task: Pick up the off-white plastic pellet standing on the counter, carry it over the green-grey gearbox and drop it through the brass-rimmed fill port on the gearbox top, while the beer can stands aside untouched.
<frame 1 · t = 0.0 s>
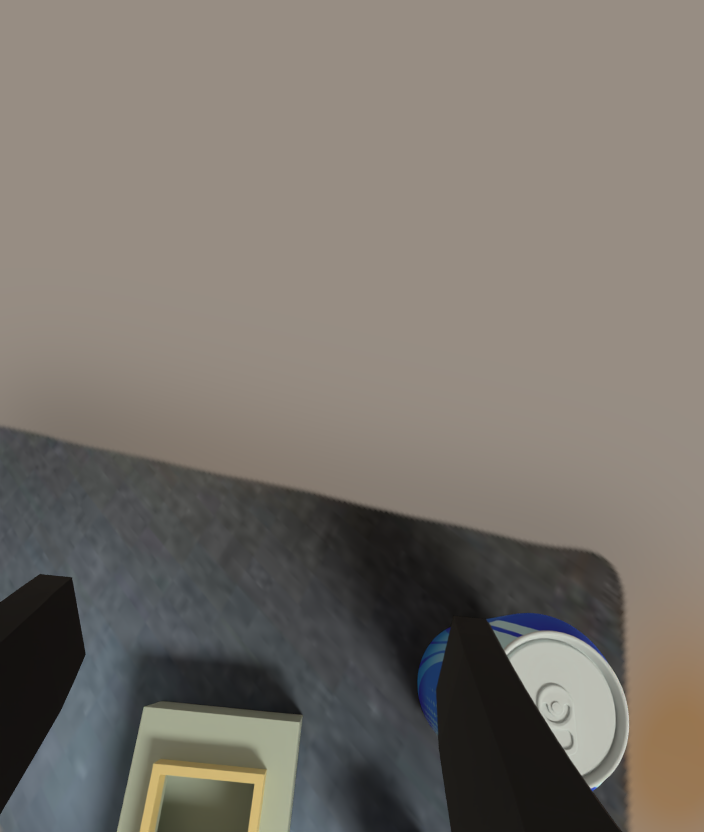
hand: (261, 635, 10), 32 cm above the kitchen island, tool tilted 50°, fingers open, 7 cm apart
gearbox: (215, 810, 36), on the kitchen island
beer can: (471, 684, 40), on the kitchen island
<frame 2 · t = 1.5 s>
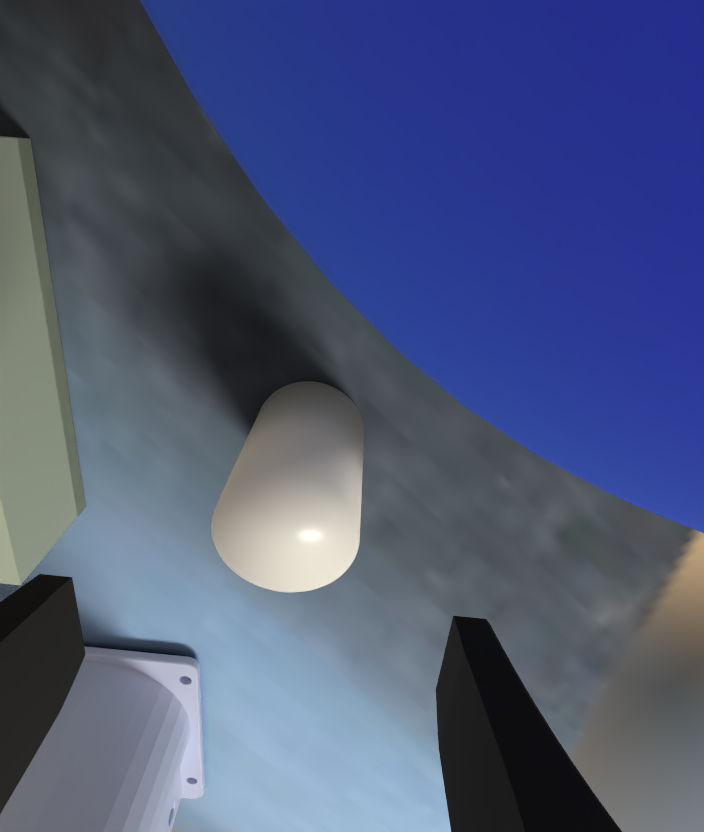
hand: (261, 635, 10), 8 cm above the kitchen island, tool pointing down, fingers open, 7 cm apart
pellet: (310, 431, 18), on the kitchen island
beer can: (497, 52, 13), on the kitchen island
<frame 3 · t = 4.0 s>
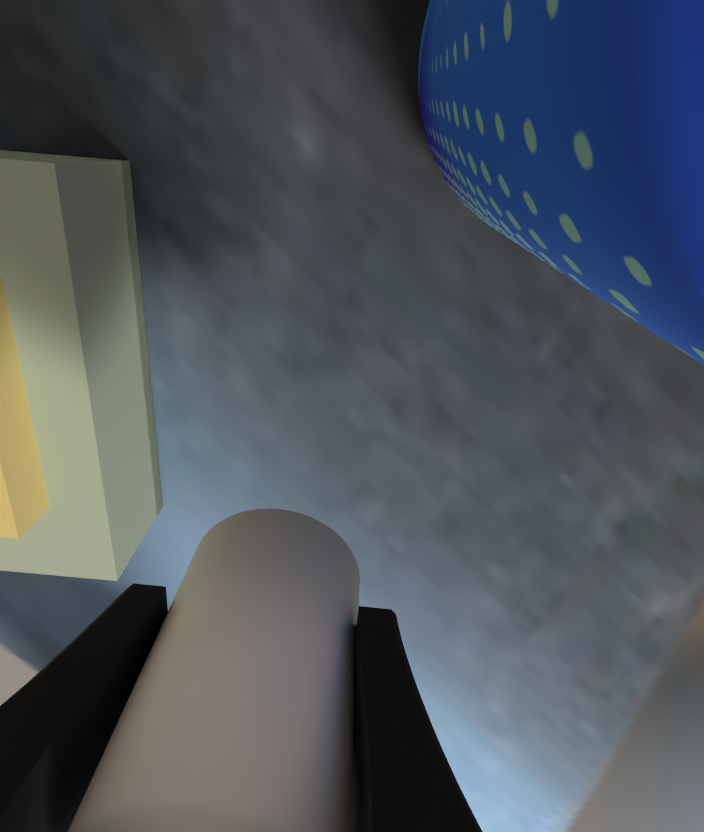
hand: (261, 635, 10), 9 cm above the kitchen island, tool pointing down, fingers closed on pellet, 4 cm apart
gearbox: (0, 346, 18), on the kitchen island
pellet: (276, 577, 12), point 8 cm above the kitchen island, touching gripper
beer can: (574, 73, 14), on the kitchen island
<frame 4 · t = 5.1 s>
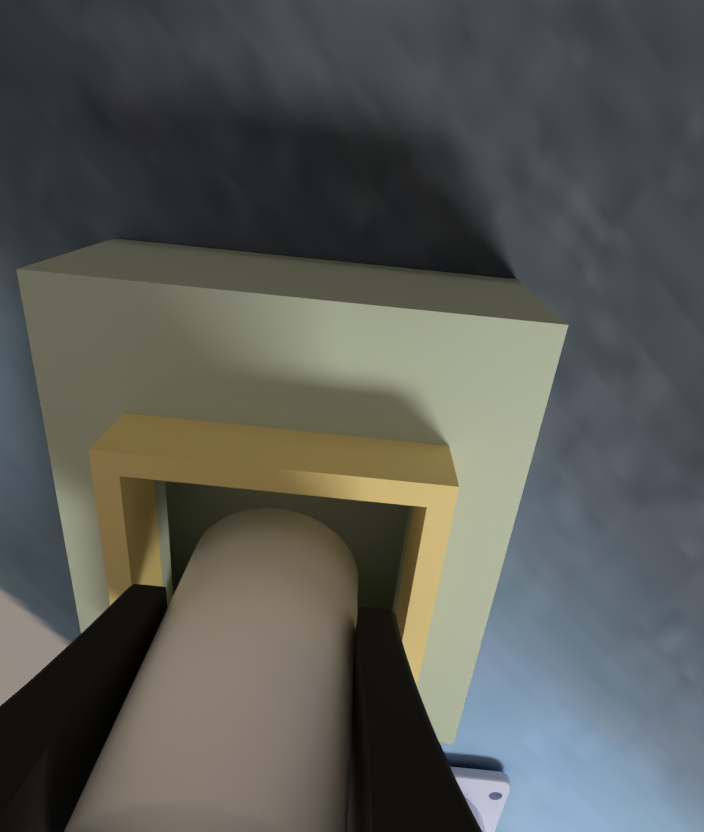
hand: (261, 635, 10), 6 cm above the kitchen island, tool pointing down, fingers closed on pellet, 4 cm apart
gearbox: (303, 466, 16), on the kitchen island
pellet: (275, 576, 12), point 5 cm above the kitchen island, touching gripper
when the fingers open (6 cm above the kitchen island, at t = 5.5 s): pellet drops 4 cm, resting on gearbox.
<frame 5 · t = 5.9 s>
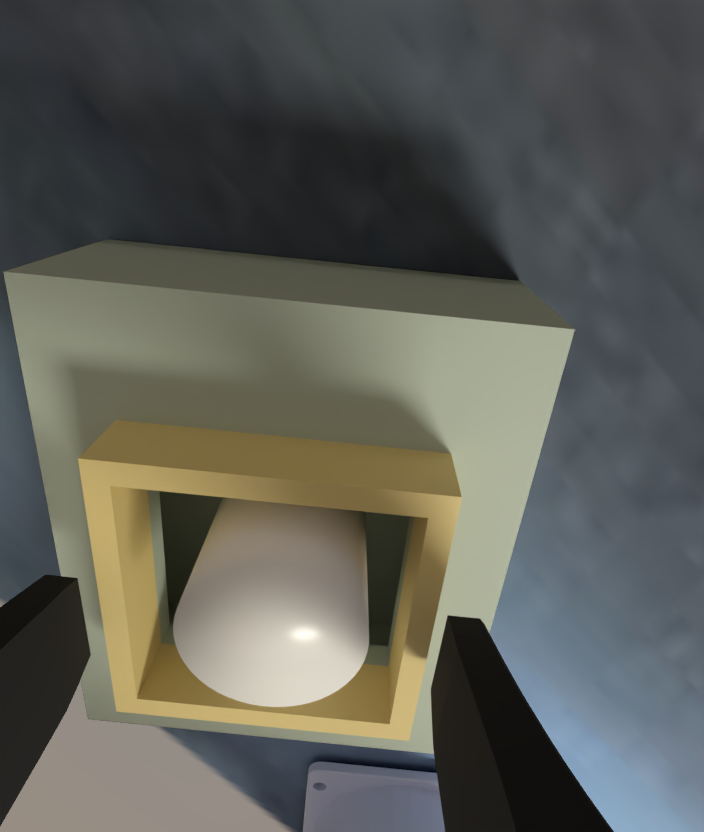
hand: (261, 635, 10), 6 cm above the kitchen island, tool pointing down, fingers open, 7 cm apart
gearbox: (301, 471, 16), on the kitchen island
pellet: (299, 484, 15), point 1 cm above the kitchen island, touching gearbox
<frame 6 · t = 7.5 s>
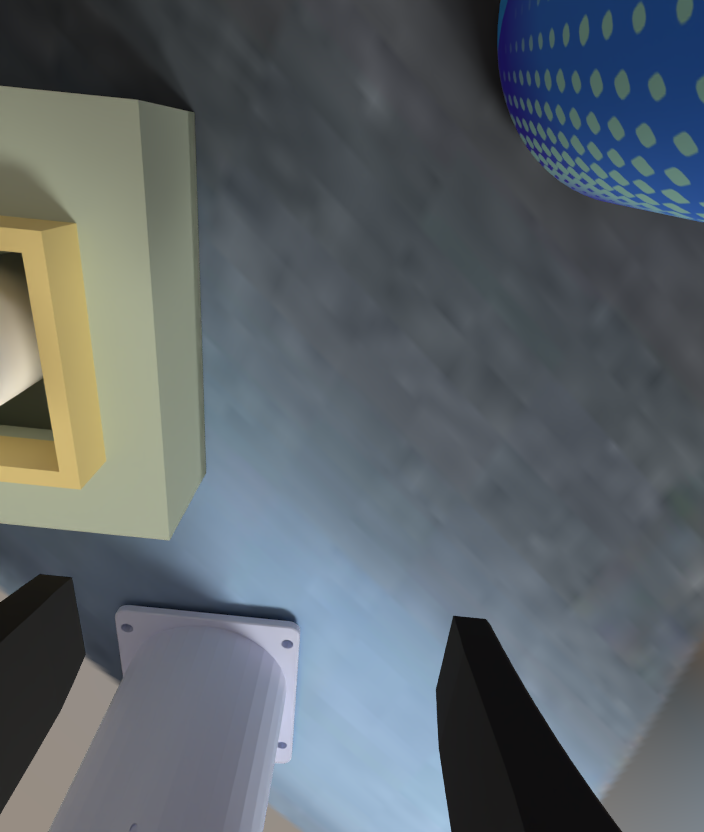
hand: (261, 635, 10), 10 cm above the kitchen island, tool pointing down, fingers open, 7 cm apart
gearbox: (50, 303, 18), on the kitchen island
pellet: (41, 308, 17), point 1 cm above the kitchen island, touching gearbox
beer can: (647, 29, 14), on the kitchen island
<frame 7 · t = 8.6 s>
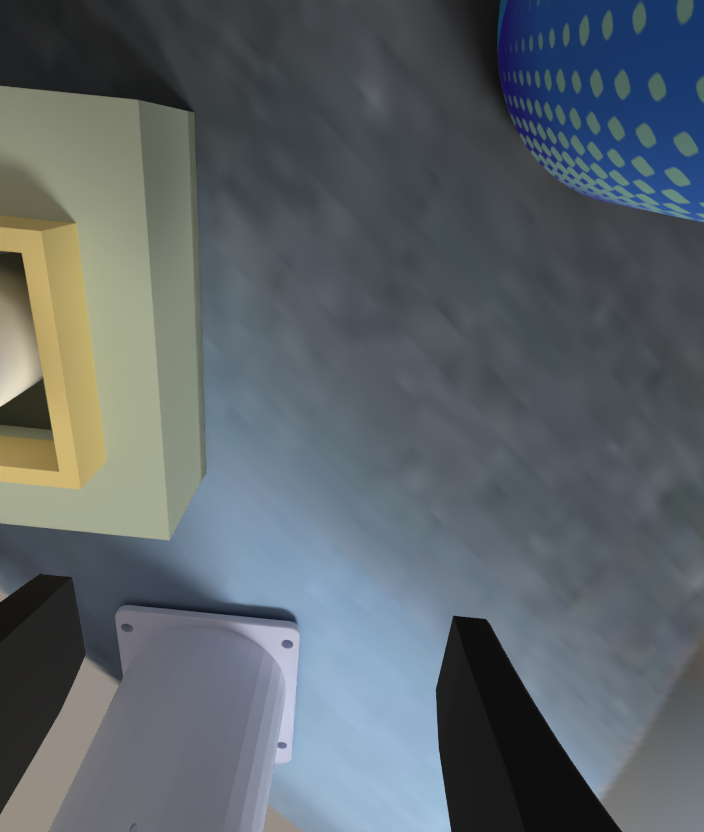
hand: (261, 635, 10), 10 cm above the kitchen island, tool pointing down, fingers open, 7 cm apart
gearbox: (50, 303, 18), on the kitchen island
pellet: (41, 307, 17), point 1 cm above the kitchen island, touching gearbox
beer can: (647, 29, 14), on the kitchen island
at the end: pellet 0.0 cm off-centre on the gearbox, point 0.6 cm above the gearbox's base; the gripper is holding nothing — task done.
